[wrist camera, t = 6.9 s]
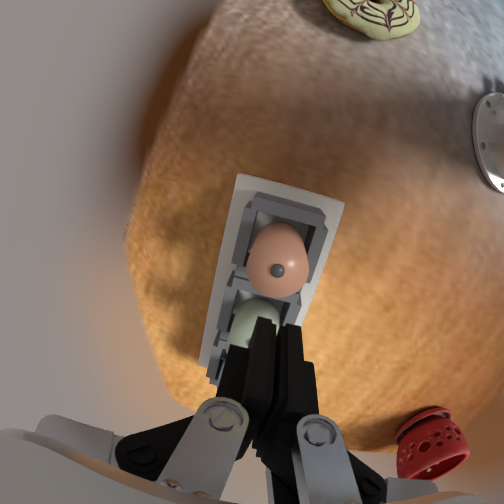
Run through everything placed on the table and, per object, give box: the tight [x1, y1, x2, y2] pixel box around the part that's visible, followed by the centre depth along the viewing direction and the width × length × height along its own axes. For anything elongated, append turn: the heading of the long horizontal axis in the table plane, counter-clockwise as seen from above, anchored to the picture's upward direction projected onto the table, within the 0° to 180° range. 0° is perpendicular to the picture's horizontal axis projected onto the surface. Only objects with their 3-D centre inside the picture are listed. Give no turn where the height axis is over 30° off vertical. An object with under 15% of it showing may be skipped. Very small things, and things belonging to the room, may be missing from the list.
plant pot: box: [395, 408, 470, 481], centre depth 30 cm, size 13×13×12 cm
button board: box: [198, 173, 345, 385], centre depth 27 cm, size 23×10×5 cm, turn 166°
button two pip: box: [226, 298, 280, 353], centre depth 22 cm, size 4×4×5 cm
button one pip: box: [246, 222, 309, 298], centre depth 20 cm, size 4×4×5 cm
